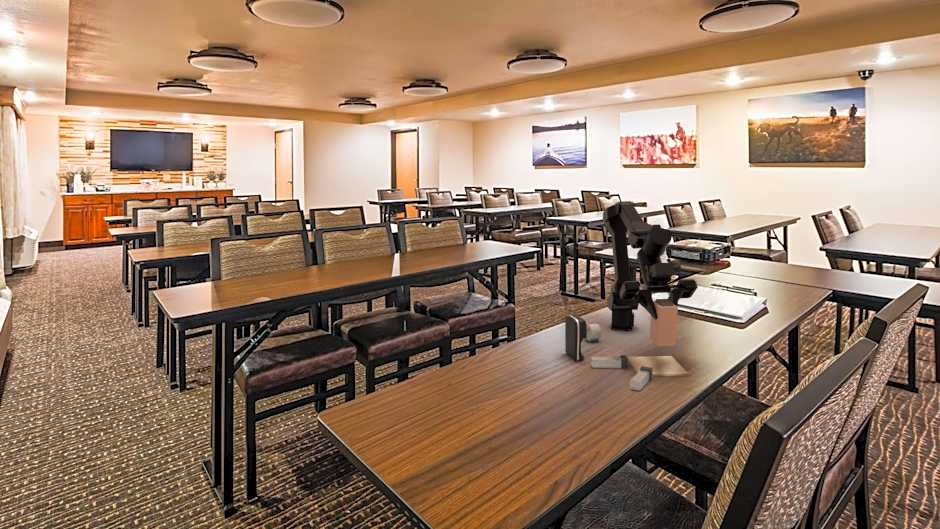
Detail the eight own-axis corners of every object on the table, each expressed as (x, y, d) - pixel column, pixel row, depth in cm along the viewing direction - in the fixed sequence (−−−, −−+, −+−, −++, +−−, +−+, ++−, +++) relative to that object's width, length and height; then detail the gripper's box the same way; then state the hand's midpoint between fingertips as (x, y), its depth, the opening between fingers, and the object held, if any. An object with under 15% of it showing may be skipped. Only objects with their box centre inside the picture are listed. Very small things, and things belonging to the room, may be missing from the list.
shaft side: (625, 364, 138) (625, 355, 138) (627, 368, 136) (627, 359, 135) (590, 364, 139) (591, 355, 139) (592, 368, 137) (592, 358, 136)
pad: (639, 376, 131) (640, 374, 131) (626, 359, 142) (626, 356, 142) (688, 375, 130) (688, 373, 130) (671, 358, 142) (671, 355, 142)
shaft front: (641, 375, 131) (642, 365, 131) (652, 378, 130) (652, 368, 129) (629, 388, 124) (629, 378, 124) (640, 391, 123) (640, 380, 122)
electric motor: (577, 338, 160) (577, 322, 159) (591, 336, 162) (591, 320, 161) (589, 345, 154) (589, 329, 153) (603, 343, 155) (603, 327, 154)
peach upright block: (649, 338, 138) (651, 298, 136) (666, 337, 138) (668, 297, 136) (658, 345, 132) (660, 304, 130) (675, 345, 132) (678, 303, 130)
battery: (588, 360, 142) (588, 319, 140) (575, 361, 142) (575, 321, 139) (577, 351, 149) (577, 312, 147) (564, 353, 148) (564, 314, 146)
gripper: (624, 250, 134) (637, 304, 126) (696, 248, 135) (714, 301, 126) (614, 274, 144) (626, 325, 135) (682, 272, 144) (698, 322, 135)
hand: (665, 318), depth 133 cm, fingers closed on peach upright block, 4 cm apart
